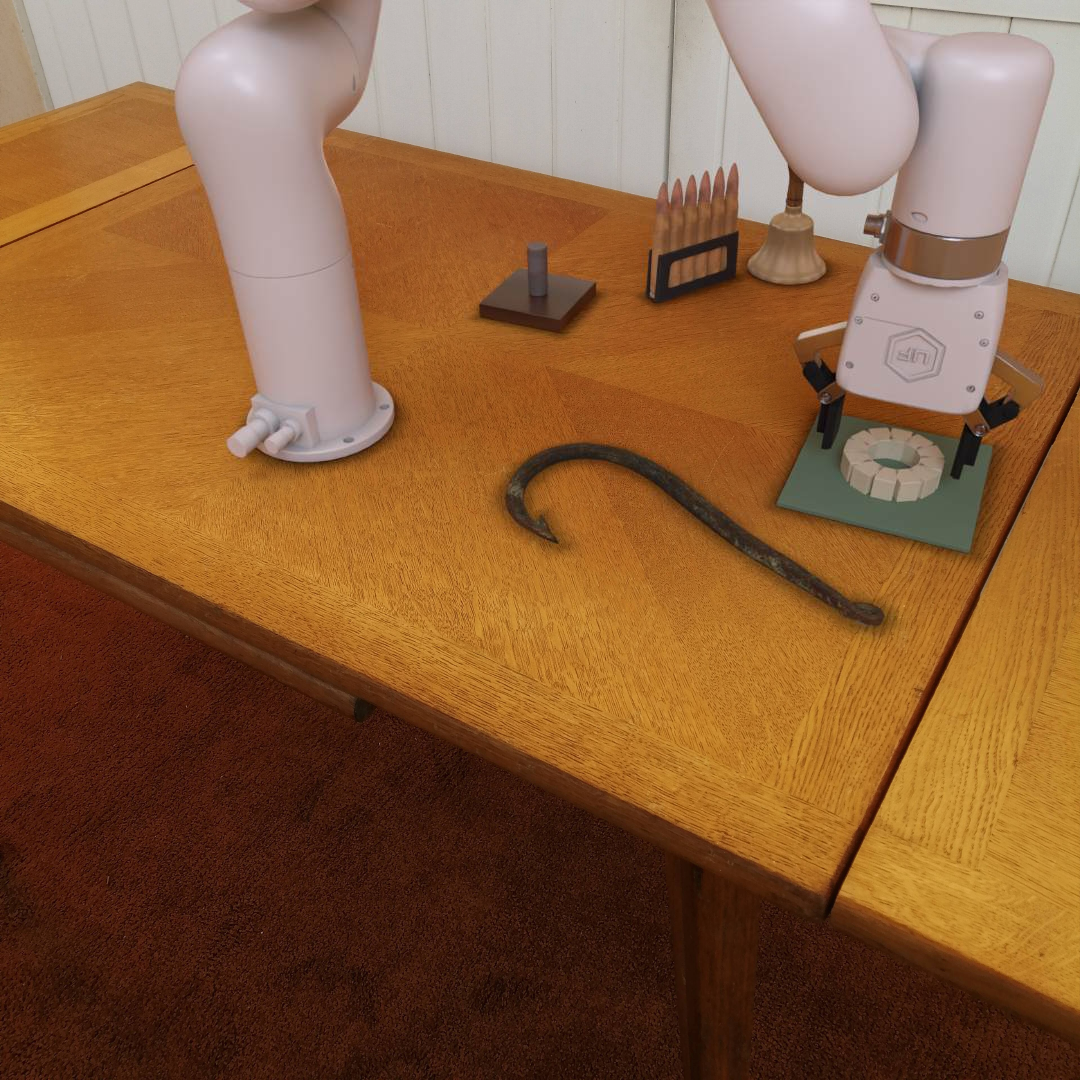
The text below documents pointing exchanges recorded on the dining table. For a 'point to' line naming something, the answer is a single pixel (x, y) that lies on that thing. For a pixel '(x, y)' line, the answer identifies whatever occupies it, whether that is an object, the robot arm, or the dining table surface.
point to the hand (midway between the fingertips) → (891, 454)
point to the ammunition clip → (694, 237)
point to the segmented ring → (887, 480)
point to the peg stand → (538, 295)
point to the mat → (925, 520)
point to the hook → (692, 504)
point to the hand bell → (789, 244)
